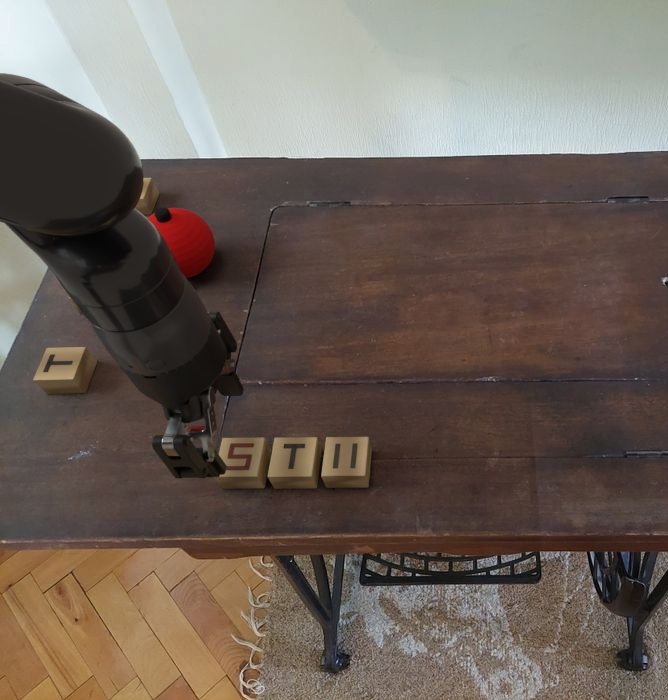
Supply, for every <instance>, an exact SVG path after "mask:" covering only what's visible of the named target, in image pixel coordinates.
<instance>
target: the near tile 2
mask: <svg viewBox="0 0 668 700" xmlns="http://www.w3.org/2000/svg"><path fill="white" fill-rule="evenodd" d="M271 450H272V451H271V456H270V462H269V467H268V472H267V478H268V480H269V482H270V484H271V485H272V487H273V489H274V490H276V489H277V490H279V489H281V490H282V489H286V490H287V489H289V490H290V489H291V490H292V489H295V490H296V489H318V486H319V485H318V484H319V476H320V470H321V462H322V455H323V449H322V447H321V444H320V441H319V438H318V437H317V436H305V437H301V436H299V437H298V436H297V437H296V436H295V437H294V436H293V437H274V439H273V445H272V449H271Z"/></svg>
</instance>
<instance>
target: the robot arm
mask: <svg viewBox="0 0 668 700" xmlns="http://www.w3.org/2000/svg"><path fill="white" fill-rule="evenodd" d="M138 153H139V152H138V151H137V149H136V147H135V146H134V144H133V143H132V141H131V140H130V139H129V137H128V136H127V135H126V134H125V133H124V132H123V130H122V129H121V128H119V127H118V126H117V125H116V124H115V123H114V122H112V121H111V120H109V119H108V118H107V117H105V116H104V115H101V114H100V113H99V112H96V111H94V110H93V109H92V108H89V107H87V106H85V105H83V104H81V103H80V102H78V101H76V100H74V99H72V98H70V97H68V96H67V95H64V94H62V93H60V92H59V91H57V90H55V89H53V88H51V87H50V86H48V85H46V84H44V83H41V82H39V81H37V80H35V79H32V78H29V77H25V76H22V75H18V74H13V73H7V72H0V223H3V224H5V225H6V226H7V227H8V229H10V231H12V233H13V234H14V235H15V236H17V238H18V239H20V241H22V243H24V244H25V245H26V247H28V248H29V249H30V250H31V251H32V252H34V254H36V255H37V256H38V258H39V259H40V260H41V261H42V262H43V263H44V264H45V265H46V266H47V267H48V269H49V270H50V271H51V273H52V274H53V275H54V277H56V279H57V281H58V282H59V284H60V285H61V287H62V289H63V290H64V291H65V293H66V294H67V296H68V298H69V297H70V298H71V299H72V300H73V302H74V303H75V304H76V305H77V307H78V308H79V309H80V311H81V312H82V313H81V314H82V315H83V316H84V318H86V319H87V321H88V322H89V324H90V326H91V328H92V330H93V333H94V334H95V336H96V337H97V339H98V340H99V342H100V343H101V345H102V346H103V347H104V349H105V350H106V351H107V353H108V354H109V355H110V356H111V357H112V359H113V360H114V361H115V363H116V364H117V365H118V367H119V368H120V369H121V370H122V371H123V373H124V374H125V375H126V377H128V379H129V380H130V381H131V383H132V384H133V385H134V386H135V388H136V389H137V390H138V391H139V392H140V393H141V394H142V395H143V396H144V397H147V398H149V399H150V400H152V401H154V402H156V403H158V404H159V405H161V407H162V410H163V413H164V417H165V419H166V420H167V422H168V423H167V424H166V425H167V426H166V429H165V432H164V434H155V435H153V437H152V441H151V447H152V449H153V451H154V452H155V453H156V455H157V456H158V457H159V459H160V460H161V461H162V463H163V464H164V466H166V468H167V469H168V471H169V472H170V473H171V474H172V476H173V477H174V478H175V479H197V478H198V479H206V478H214V477H219V476H220V475H223V474H225V472H226V468H227V466H226V464H225V463H224V461H223V460H222V459H221V457H220V456H219V452H217V450H216V449H215V445H214V440H213V439H214V438H213V436H214V435H215V434H216V433H217V431H218V427H217V419H216V413H215V412H216V411H215V403H216V401H217V398H216V395H217V392H219V394H220V395H221V396H223V397H241V396H243V394H244V393H243V392H244V390H245V389H244V385H243V384H242V382H241V379H240V378H239V376H238V374H237V372H236V361H235V359H234V358H232V353H236V352H237V350H238V344H237V343H238V342H237V341H236V339H235V336H234V335H233V334H232V332H231V329H230V328H229V327H228V325H227V322H226V321H225V319H224V317H223V316H222V314H221V312H220V311H207V308H206V306H205V304H204V303H203V301H202V299H201V297H200V295H199V293H198V292H197V290H196V288H195V287H194V286H193V284H192V283H191V282H190V281H189V280H188V278H186V277H185V276H184V274H183V273H182V271H181V269H180V267H179V265H178V263H177V262H176V260H175V258H174V256H173V254H172V252H171V250H170V249H169V247H168V245H167V243H166V241H165V240H164V238H163V236H162V235H161V233H160V232H159V231H158V229H157V228H156V227H155V226H154V225H153V223H152V222H151V221H150V220H149V219H148V217H147V216H146V215H143V214H142V213H140V212H139V211H138V210H136V209H135V207H136V205H137V204H138V202H139V199H140V197H141V194H142V190H143V178H144V169H143V164H142V161H141V158H140V156H139V154H138ZM200 420H203V424H204V425H186V424H190V423H191V424H192V423H194V422H196V421H197V422H198V421H200ZM195 440H198V441H201V447H196V446H195V444H194V441H195Z"/></svg>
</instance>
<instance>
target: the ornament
mask: <svg viewBox="0 0 668 700" xmlns="http://www.w3.org/2000/svg"><path fill="white" fill-rule="evenodd" d="M147 218H148V219H149V220H150V221H151V222H152V223H153V225H154V226H155V227H156V228H157V229H158V231H159V232H160V233H161V235H162V236H163V238H164V240H165V241H166V243H167V245H168V247H169V249H170V250H171V252H172V254H173V256H174V258H175V260H176V262H177V263H178V265H179V267H180V269H181V271H182V273H183V274H184V276H185V277H186V278H187V279H188V278H192V277H195V276H197V275H199V274H200V273H202V272H203V271H204V270H205V269H206V268H207V267H208V266H209V265H210V264H211V262H212V260H213V258H214V254H215V251H216V249H215V248H216V241H215V238H214V233H213V231H212V229H211V227H210V226H209V224H208V222H207V221H205V220H204V219H203V218H202V217H201V216H200V215H198V214H197V213H195V212H194V211H191V210H190V209H186V208H182V207H158V208H157V209H156V210H155V211H154V212H153V213H152V214H151V215H148V217H147Z"/></svg>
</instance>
